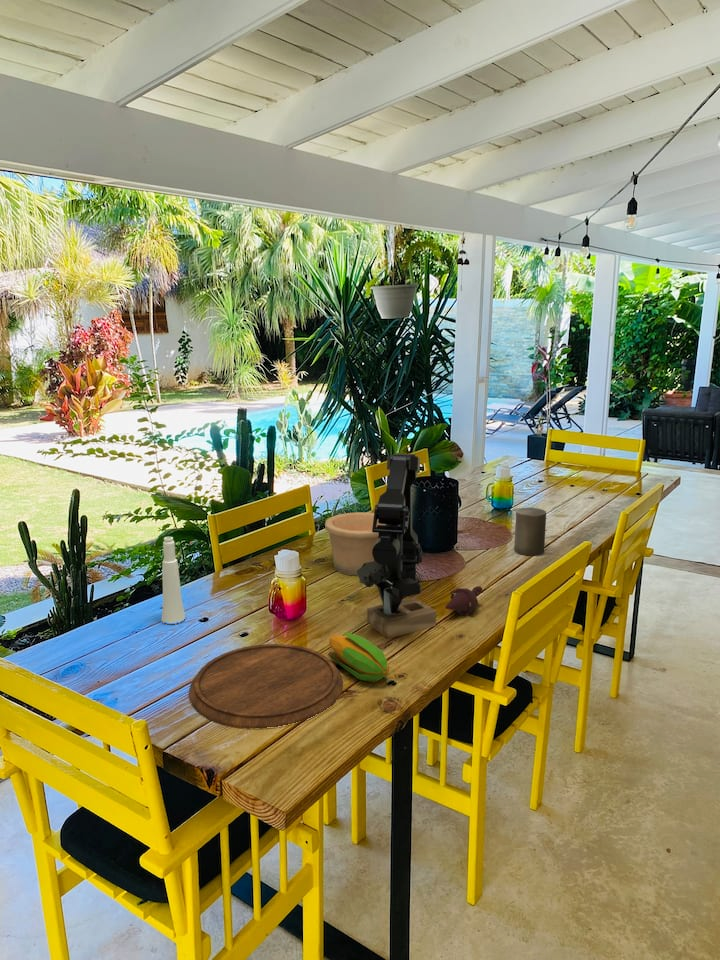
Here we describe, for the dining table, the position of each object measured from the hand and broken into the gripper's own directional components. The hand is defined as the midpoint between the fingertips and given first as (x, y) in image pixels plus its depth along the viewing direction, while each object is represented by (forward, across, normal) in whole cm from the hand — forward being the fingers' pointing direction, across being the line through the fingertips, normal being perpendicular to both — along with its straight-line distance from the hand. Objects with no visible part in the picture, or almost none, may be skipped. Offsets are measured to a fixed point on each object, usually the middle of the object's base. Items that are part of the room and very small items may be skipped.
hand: (389, 610), depth 176 cm
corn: (+5, +14, -18) cm, 23 cm away
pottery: (+5, -41, +16) cm, 44 cm away
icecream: (+5, +2, +21) cm, 22 cm away
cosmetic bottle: (+5, -31, -46) cm, 55 cm away
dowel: (+2, 0, 0) cm, 2 cm away
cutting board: (+5, +11, -38) cm, 39 cm away
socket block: (+4, 0, +4) cm, 6 cm away
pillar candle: (+5, -26, +70) cm, 75 cm away
